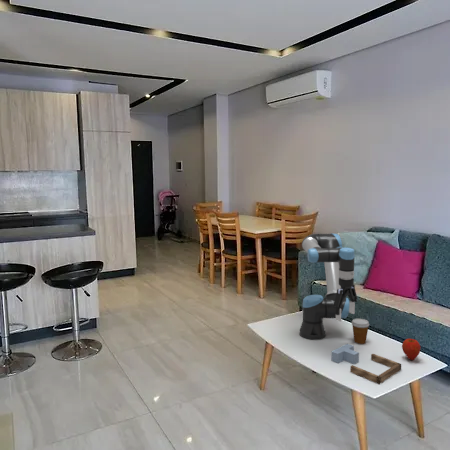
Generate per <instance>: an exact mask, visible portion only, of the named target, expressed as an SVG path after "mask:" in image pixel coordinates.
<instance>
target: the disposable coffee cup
mask: <svg viewBox="0 0 450 450" xmlns="http://www.w3.org/2000/svg"><path fill="white" fill-rule="evenodd" d="M351 326H352V333H353V342H354V343H356V344H358V345H363V344H366V343H367V337H368V331H369V327H370V323H369V320H367V319H364V318H354V319H352V321H351Z"/></svg>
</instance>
